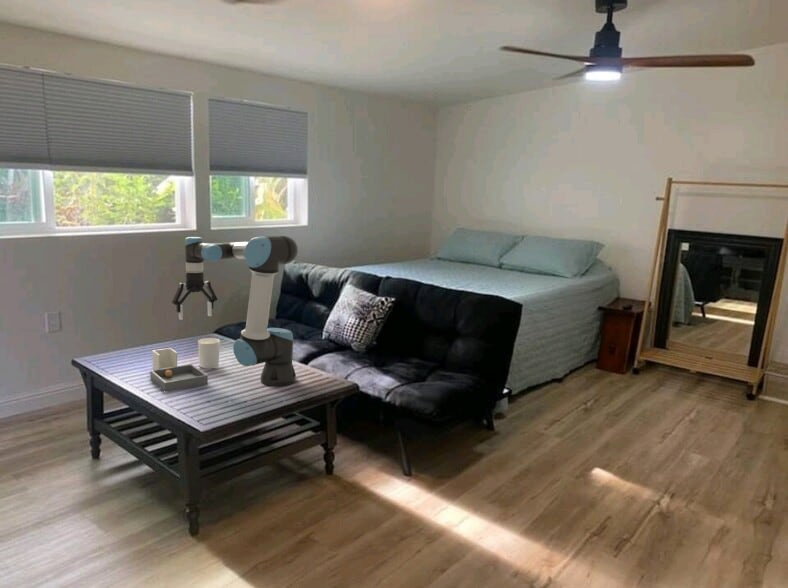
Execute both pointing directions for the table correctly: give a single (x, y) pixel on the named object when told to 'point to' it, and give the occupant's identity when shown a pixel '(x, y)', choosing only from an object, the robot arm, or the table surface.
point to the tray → (179, 377)
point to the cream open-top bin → (164, 358)
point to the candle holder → (209, 352)
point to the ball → (168, 373)
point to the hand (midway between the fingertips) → (195, 317)
